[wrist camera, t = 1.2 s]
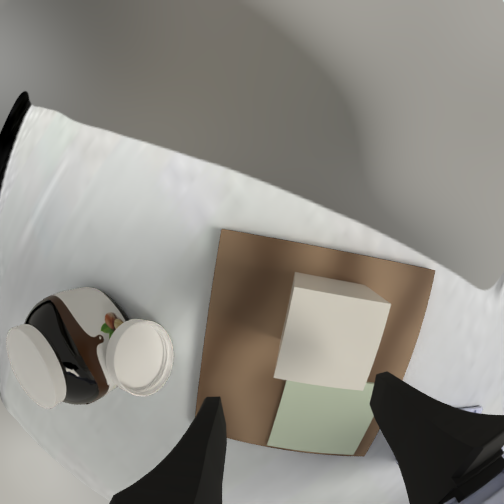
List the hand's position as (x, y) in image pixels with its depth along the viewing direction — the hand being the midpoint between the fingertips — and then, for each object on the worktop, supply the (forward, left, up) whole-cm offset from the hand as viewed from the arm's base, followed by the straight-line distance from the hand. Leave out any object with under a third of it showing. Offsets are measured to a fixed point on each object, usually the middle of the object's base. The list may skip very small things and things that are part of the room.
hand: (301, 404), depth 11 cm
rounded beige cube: (-1, -2, -10) cm, 11 cm away
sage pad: (-4, +8, -10) cm, 14 cm away
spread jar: (+17, +5, -12) cm, 21 cm away
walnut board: (-1, +3, -11) cm, 12 cm away
